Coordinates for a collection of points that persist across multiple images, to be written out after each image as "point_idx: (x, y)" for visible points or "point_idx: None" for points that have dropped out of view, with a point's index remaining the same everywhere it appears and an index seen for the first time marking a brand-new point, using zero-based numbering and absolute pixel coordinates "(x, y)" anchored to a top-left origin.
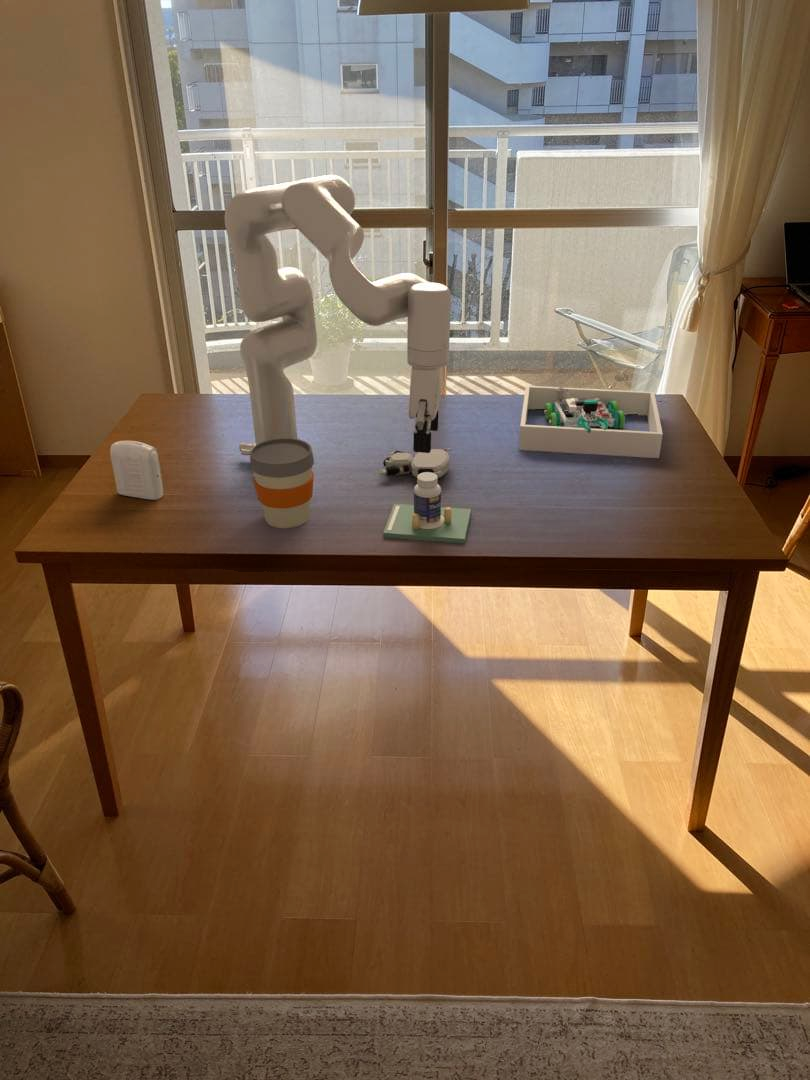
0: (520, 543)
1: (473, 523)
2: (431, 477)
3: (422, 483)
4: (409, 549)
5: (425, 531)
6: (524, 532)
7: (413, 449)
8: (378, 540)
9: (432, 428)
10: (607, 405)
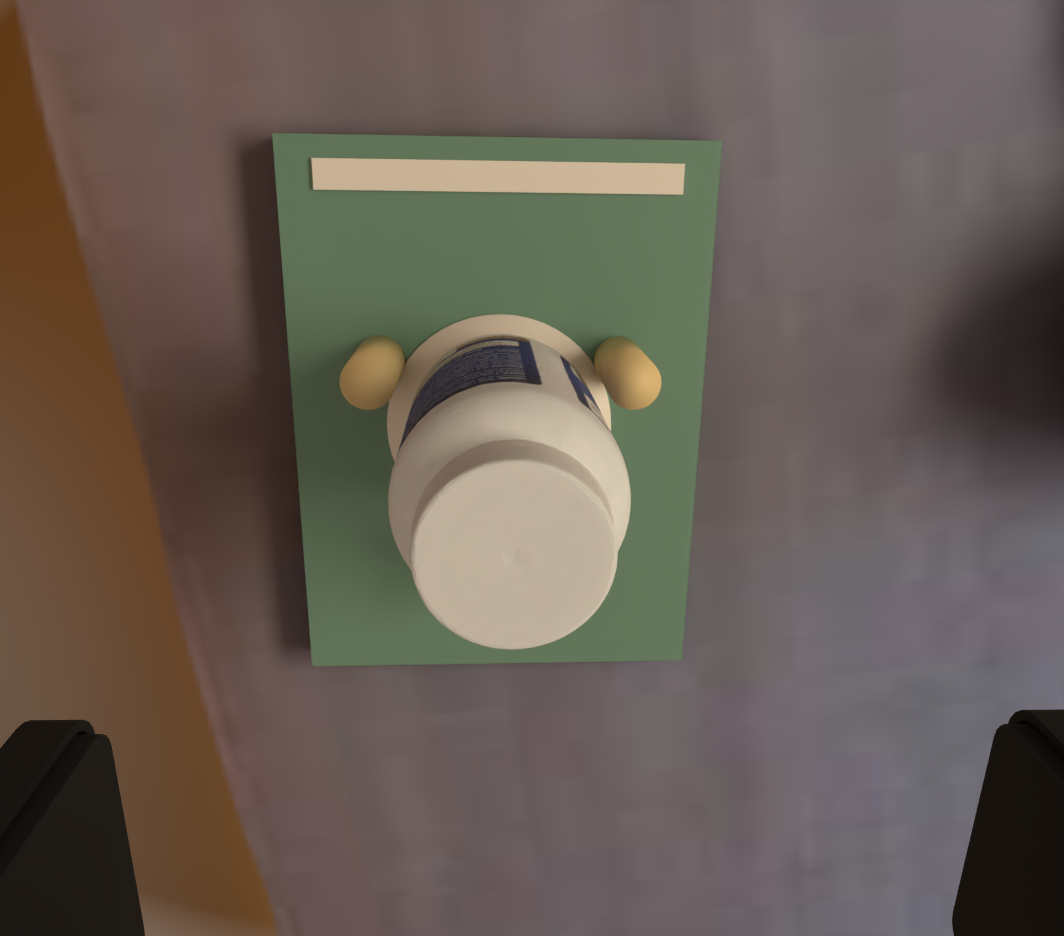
0: (380, 901)
1: (557, 670)
2: (499, 599)
3: (415, 514)
4: (167, 344)
5: (353, 429)
6: (496, 909)
7: (16, 734)
8: (229, 105)
9: (979, 907)
10: None
